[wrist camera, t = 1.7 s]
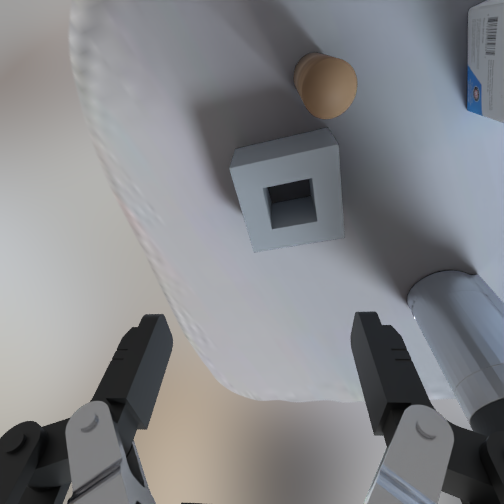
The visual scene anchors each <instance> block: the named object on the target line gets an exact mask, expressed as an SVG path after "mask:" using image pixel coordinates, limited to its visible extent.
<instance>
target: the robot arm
mask: <svg viewBox="0 0 504 504" xmlns="http://www.w3.org/2000/svg"><path fill="white" fill-rule="evenodd" d="M407 303H408V305H409V307H410V309H411V311H412V314H413V316H414V318H415V319H416V321H417V323H418V325H419V327H420V329H421V331H422V333H423V335H424V337H425V339H426V341H427V342H428V344H429V346H430V348H431V350H432V352H433V354H434V356H435V358H436V360H437V362H438V364H439V366H440V368H441V370H442V372H443V374H444V375H445V377H446V379H447V381H448V383H449V385H450V387H451V389H452V391H453V393H454V395H455V397H456V399H457V401H458V402H459V404H460V406H461V408H462V410H463V412H464V414H465V416H466V418H467V420H468V421H469V424H470V425H471V428H472V430H473V431H470V430H467V429H464V428H461V427H459V426H456V425H454V424H452V423H450V422H449V421H447V420H446V419H445V418H444V417H443V416H442V415H441V414H440V413H438V412H437V411H436V410H435V409H434V407H433V406H432V404H431V402H430V400H429V398H428V396H427V394H426V391H425V389H424V387H423V384H422V382H421V380H420V378H419V375H418V373H417V371H416V369H415V366H414V364H413V362H412V361H411V357H410V355H409V353H408V351H407V348H406V346H405V344H404V341H403V339H402V337H401V335H400V334H399V333H398V332H397V331H396V330H395V329H394V328H393V327H392V326H391V325H382V324H381V322H380V319H379V317H378V314H377V313H376V312H356V313H355V316H354V322H353V327H352V332H351V348H352V353H353V356H354V360H355V364H356V368H357V372H358V375H359V379H360V383H361V387H362V391H363V394H364V398H365V402H366V406H367V410H368V413H369V417H370V421H371V425H372V429H373V432H374V435H382V436H384V438H385V442H386V445H387V448H386V451H385V453H384V455H383V458H382V460H381V462H380V465H379V467H378V470H377V472H376V475H375V477H374V479H373V482H372V485H371V487H370V489H369V492H368V494H367V496H366V499H365V501H364V503H363V504H438V500H439V497H440V493H441V491H443V492H445V493H448V494H450V495H453V496H455V497H458V498H460V499H461V502H462V504H504V303H503V302H502V301H501V299H500V298H499V297H498V296H497V295H496V294H495V293H494V291H493V290H492V289H491V288H490V287H489V286H488V285H487V284H486V282H485V281H484V280H483V279H482V278H481V277H480V276H479V275H469V274H466V273H464V272H460V271H442V272H438V273H434V274H432V275H429V276H427V277H425V278H423V279H422V280H420V281H419V282H418V283H416V284H415V285H414V286H413V288H412V289H411V290H410V292H409V294H408V298H407ZM172 347H173V338H172V334H171V332H170V329H169V326H168V324H167V321H166V319H165V316H164V315H163V314H149V315H148V314H146V315H144V316H143V318H142V319H141V322H140V324H139V326H138V327H132V328H131V329H130V330H129V331H128V332H127V333H126V334H125V336H124V337H123V338H122V340H121V342H120V344H119V346H118V348H117V351H116V352H115V354H114V356H113V358H112V361H111V362H110V364H109V366H108V368H107V370H106V372H105V374H104V376H103V378H102V380H101V382H100V384H99V386H98V388H97V390H96V392H95V394H94V396H93V398H92V400H91V401H90V402H89V403H87V404H85V405H83V406H82V407H80V408H79V409H78V410H77V411H76V412H75V413H74V414H73V415H72V417H71V418H68V419H65V420H62V421H59V422H56V423H53V424H50V425H47V426H43V427H41V426H40V425H39V424H37V423H36V422H34V421H26V422H23V423H20V424H18V425H16V426H14V427H13V428H11V429H10V430H9V431H7V432H6V433H5V434H4V435H3V436H2V437H1V438H0V504H63V501H64V499H65V496H66V494H67V491H68V489H69V486H70V484H71V482H72V488H73V495H72V497H71V498H70V499H69V500H68V502H67V504H156V503H155V501H154V498H153V497H152V495H151V492H150V490H149V488H148V484H147V481H146V478H145V475H144V471H143V468H142V465H141V462H140V458H139V455H138V452H137V449H136V446H135V443H134V440H133V439H134V436H135V433H136V430H137V429H147V428H148V424H149V421H150V418H151V415H152V412H153V408H154V405H155V402H156V399H157V396H158V393H159V390H160V386H161V383H162V379H163V377H164V374H165V370H166V367H167V364H168V361H169V358H170V354H171V351H172ZM181 504H200V503H181Z"/></svg>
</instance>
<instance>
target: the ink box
mask: <svg viewBox="0 0 504 504" xmlns="http://www.w3.org/2000/svg"><path fill="white" fill-rule="evenodd" d="M467 110H468V111H470V112H473V113H476V114H479V115H482V116H484V117H487V118H491V119H493V120H496V121H499V122H502V123H504V0H487V1H485V2H483V3H480V4H478V5H476V6H474V7H472V8H470V9H469V11H468V86H467Z"/></svg>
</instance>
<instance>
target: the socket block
mask: <svg viewBox="0 0 504 504" xmlns="http://www.w3.org/2000/svg"><path fill="white" fill-rule="evenodd" d="M229 169H230V173H231V176H232V179H233V183H234V186H235V190H236V193H237V197H238V200H239V203H240V207H241V210H242V214H243V217H244V220H245V224H246V227H247V231H248V234H249V237H250V241H251V244H252V248H253V251H254V252H261V251H267V250H273V249H279V248H285V247H291V246H297V245H304V244H310V243H316V242H322V241H328V240H334V239H340V238H345V234H344V219H343V204H342V189H341V173H340V158H339V144H338V143H337V141H336V139H335V138H334V136H333V135H332V133H331V132H330V130H329V129H328V127H327V128H323V129H319V130H315V131H310V132H306V133H302V134H297V135H293V136H289V137H284V138H280V139H276V140H272V141H267V142H263V143H259V144H254V145H250V146H246V147H242V148H237V149H235V152H234V155H233V158H232V161H231V164H230V168H229ZM305 179H309V184H310V191H311V196H310V197H304V198H299V199H294V200H289V201H284V202H278V203H273V204H272V202H271V197H270V193H269V188H268V187H271V186H276V185H281V184H285V183H290V182H295V181H300V180H305Z"/></svg>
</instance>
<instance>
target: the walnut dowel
mask: <svg viewBox="0 0 504 504" xmlns="http://www.w3.org/2000/svg"><path fill="white" fill-rule="evenodd" d="M293 79H294V84H295V87H296V89H297V91H298V93H299V95H300V97H301V99H302V101H303V103H304V105H305V106H306V108H307V110H308V111H309V112H310V113H311V114H312V115H313V116H315V117H317V118H320V119H332V118H335V117H337V116H339V115H341V114H342V113H344V112H345V111H346V110H347V109H348V108H349V106H350V105H351V104H352V102H353V100H354V98H355V95H356V91H357V77H356V74H355V71H354V70H353V68H352V67H351V65H350V64H349V63H347V62H346V61H344V60H342V59H338V58H335V57H331V56H328V55H324V54H321V53H316V52H315V53H309V54H307V55H305V56H304V57H302V58H301V59H300V60H299V62H298V63H297V65H296V67H295V70H294V75H293Z"/></svg>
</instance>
